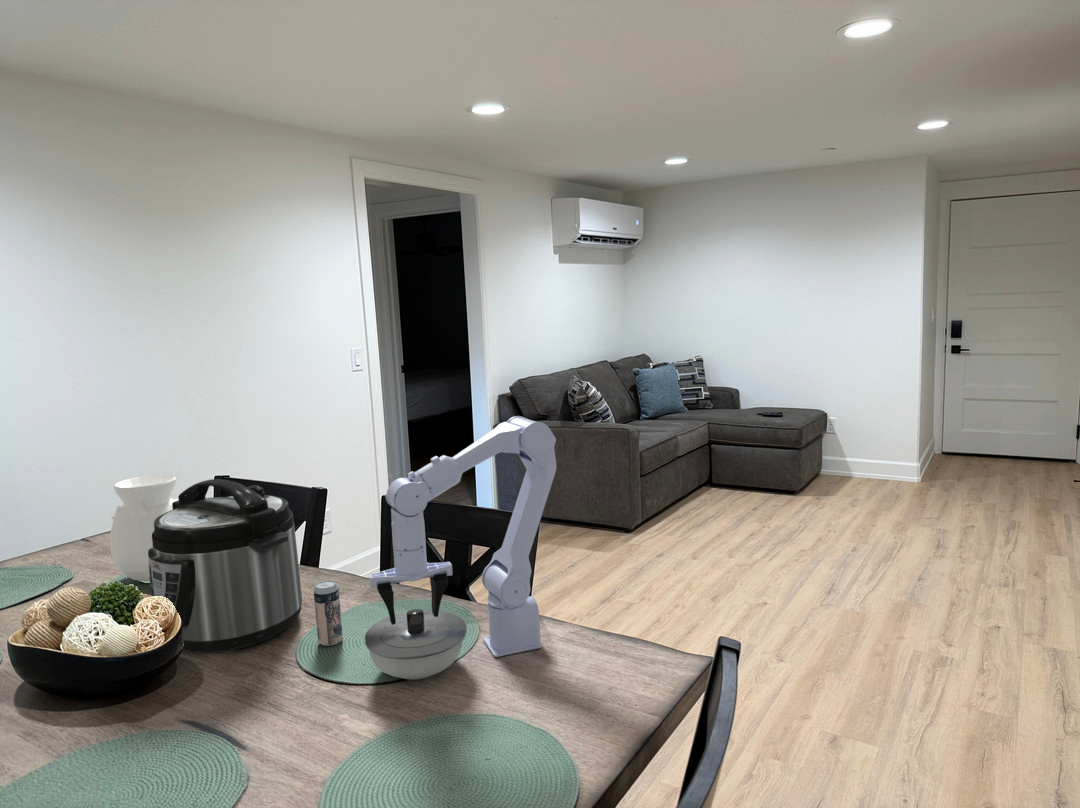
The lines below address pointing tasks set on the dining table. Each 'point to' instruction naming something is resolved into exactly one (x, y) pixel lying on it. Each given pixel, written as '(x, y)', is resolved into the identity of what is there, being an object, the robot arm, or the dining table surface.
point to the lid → (415, 634)
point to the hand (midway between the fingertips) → (414, 618)
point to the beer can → (328, 613)
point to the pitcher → (138, 521)
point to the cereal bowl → (417, 664)
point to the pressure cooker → (227, 565)
